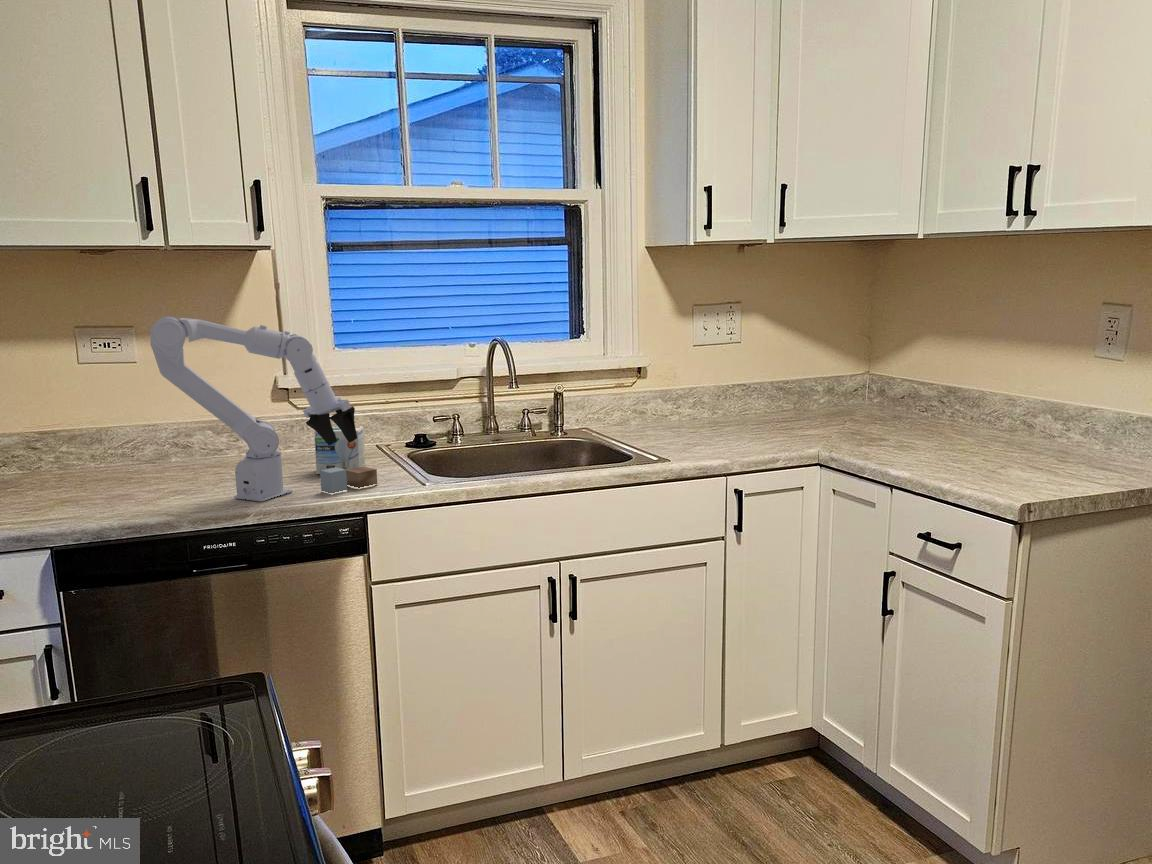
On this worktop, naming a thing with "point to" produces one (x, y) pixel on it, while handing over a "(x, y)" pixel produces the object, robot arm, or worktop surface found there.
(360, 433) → the light bulb box
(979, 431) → the worktop surface
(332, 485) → the slate block
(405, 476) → the worktop surface
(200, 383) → the robot arm
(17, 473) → the worktop surface
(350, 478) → the walnut block
